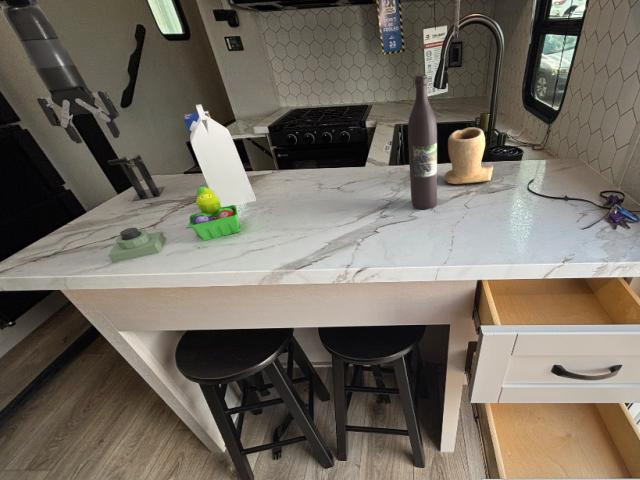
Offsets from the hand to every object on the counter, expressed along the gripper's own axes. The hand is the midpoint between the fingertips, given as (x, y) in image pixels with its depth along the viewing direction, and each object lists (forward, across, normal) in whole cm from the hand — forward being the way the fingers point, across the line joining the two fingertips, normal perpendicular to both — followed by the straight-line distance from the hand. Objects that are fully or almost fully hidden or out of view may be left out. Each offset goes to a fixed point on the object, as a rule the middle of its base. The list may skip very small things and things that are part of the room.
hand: (98, 140), depth 88 cm
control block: (+21, -4, +25) cm, 33 cm away
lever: (+10, +1, -13) cm, 16 cm away
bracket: (+21, +1, -18) cm, 28 cm away
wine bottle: (+21, -77, +35) cm, 87 cm away
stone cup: (+21, -96, +27) cm, 102 cm away
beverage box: (+21, -23, -15) cm, 35 cm away
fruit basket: (+22, -23, +24) cm, 40 cm away
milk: (+21, -27, +1) cm, 34 cm away
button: (+18, -4, +25) cm, 31 cm away
